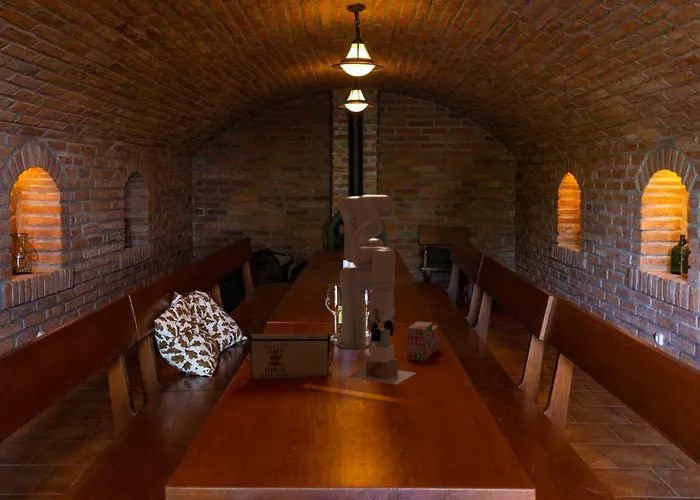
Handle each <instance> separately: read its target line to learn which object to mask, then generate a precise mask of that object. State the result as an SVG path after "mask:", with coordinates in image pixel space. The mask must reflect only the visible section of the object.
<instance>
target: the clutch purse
mask: <svg viewBox="0 0 700 500" xmlns="http://www.w3.org/2000/svg"><path fill="white" fill-rule="evenodd" d="M334 342H335V340H333V338H332V336H331V333H322V334H321V333H315V334H314V333H305V334H304V333H289V334H288V333H286V334H285V333H283V334H282V333H280V334H278V333H276V334H275V333H273V334H271V333H270V334H269V333H268V334H267V333H264V334H263V333H262V334H261V333H258V334H257V333H254V334H253V333H251V334H250V333H249V334H248V339H246V340H245V343H244V345H243V346H244V348H243V358H244V360H245V362H246V363H247V364H248V365H249V366H250V371H249V372H250V375H249V376H250V379H251V380H252V379H306V378H308V377H311V376H312V377H313V376H317V377H318V376H328V377H329V376H330V375H329V372H330V366H331V364H332V362H333V359H334ZM248 344H249V345H248ZM247 346H248V351H249V355H250V358H249V360H250V362H248V360H247V357H246V350H247ZM330 353H331V360H330Z"/></svg>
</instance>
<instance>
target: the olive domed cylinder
mask: <svg viewBox="0 0 700 500" xmlns="http://www.w3.org/2000/svg"><path fill="white" fill-rule="evenodd" d="M380 329H381V339H380V342H377V341H375V346H378V347H387V346H390V344H391V336H390V330H389V329H384V328H380Z"/></svg>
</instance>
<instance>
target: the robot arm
mask: <svg viewBox="0 0 700 500" xmlns="http://www.w3.org/2000/svg"><path fill="white" fill-rule="evenodd" d="M339 212H340V216H341V219H342V222H343V226H344V243H343V244H344V245H343V248H344V249H343V254H344V259H345V261H346V262H348V263H351V264H353V265H350V266H349V265H348V266H345V267H343V268H342V269H341V270H340V272H339V282H340V289H341V291H340V292H341V333H337V332H335V333H333V338H332V339H333V340H338V341H337V346H338V347H339V348H342V349H346V350H347V349H348V350H362V349H367V348H369V341H367V340H366V339H367V337H366V336H367V335H366V334H367V332H366V329H367V327H366V326H367V324H366V323H367V301H366V299H365V297H364V296H363V295H362V293H361V292H362V291H371V294H370V300H369V311H368V321H369V326H370V340H371V341H377V342H380V339H381V329H382V328H381V325H382V324H383V329H389V330H390V337H393V336H394V324H395V320H394V319H395V314H396V313H395V312H396V309H395V297H394V292H395V278H396V277H395V276H396V274H395V273H396V271H395V270H396V269H395V267H396V254H395V251H394V250H393V249H392V247H391V246H386V245H385V243H384V242H383V240H381V239H380V238H376V237H378V236H379V235H380V234H381V233H382V232H383V230H384V226H383V221H382V220H388V219H389V220H390V219H391V218H392V217H393V216H394V215H395V203H394V200H393V198H392V197H391V196H389V195H387V194H386V195H385V194H363V195H360V196H348V197H344V198H342V199H341V201H340V205H339Z"/></svg>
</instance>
